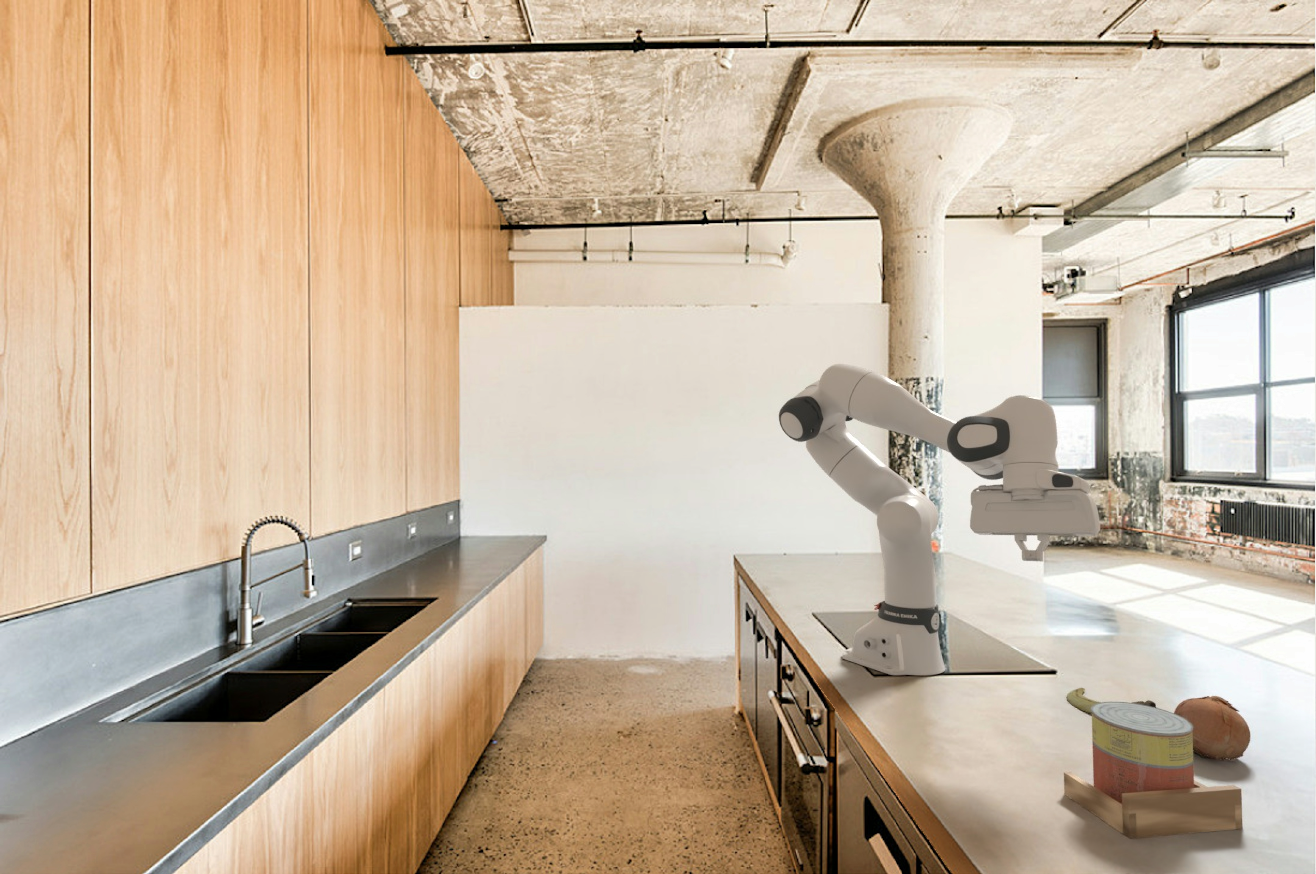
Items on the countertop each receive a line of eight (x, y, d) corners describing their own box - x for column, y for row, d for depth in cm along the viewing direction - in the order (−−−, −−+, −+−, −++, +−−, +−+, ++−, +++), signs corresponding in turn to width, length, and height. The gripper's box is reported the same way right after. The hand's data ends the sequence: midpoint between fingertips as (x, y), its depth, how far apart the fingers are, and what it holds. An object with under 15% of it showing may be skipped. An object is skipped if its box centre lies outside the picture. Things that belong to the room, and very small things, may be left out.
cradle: (1064, 794, 93) (1063, 758, 93) (1165, 786, 95) (1164, 751, 95) (1129, 838, 82) (1128, 797, 82) (1242, 828, 84) (1241, 788, 84)
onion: (1220, 767, 107) (1235, 708, 109) (1256, 778, 98) (1272, 713, 100) (1154, 739, 110) (1170, 681, 112) (1184, 746, 102) (1200, 683, 103)
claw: (1186, 729, 116) (1184, 709, 116) (1145, 738, 112) (1144, 718, 113) (1081, 694, 134) (1080, 677, 134) (1043, 701, 131) (1042, 684, 131)
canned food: (1158, 786, 95) (1155, 702, 96) (1218, 830, 84) (1215, 734, 84) (1076, 784, 96) (1074, 700, 96) (1125, 827, 85) (1122, 732, 85)
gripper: (964, 482, 124) (964, 556, 121) (1091, 477, 110) (1095, 561, 107) (976, 488, 129) (977, 560, 125) (1100, 484, 114) (1104, 565, 111)
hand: (1032, 561), depth 116 cm, fingers closed
